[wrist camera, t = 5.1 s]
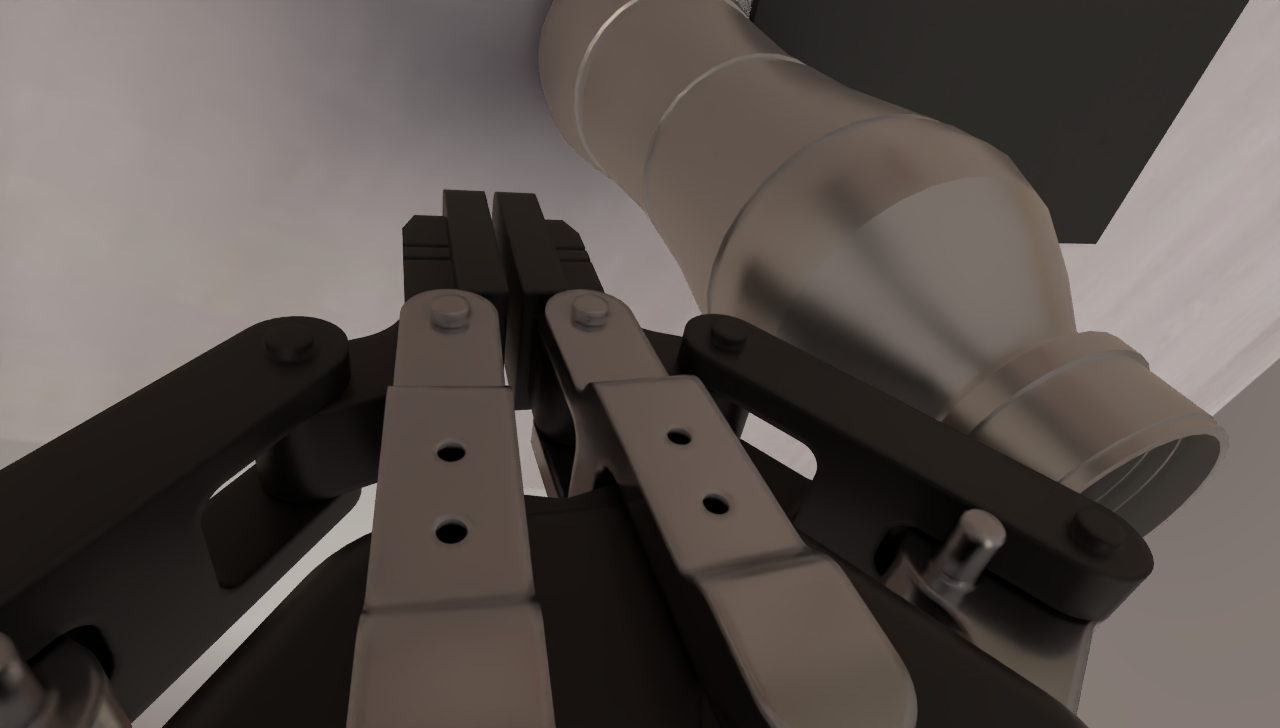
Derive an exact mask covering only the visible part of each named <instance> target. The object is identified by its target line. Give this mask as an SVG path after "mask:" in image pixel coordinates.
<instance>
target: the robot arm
mask: <svg viewBox="0 0 1280 728" xmlns="http://www.w3.org/2000/svg"><path fill="white" fill-rule="evenodd" d="M402 235H403V266H404V297H405V303H404V305H403V306H402V308H401V311H400V319H399V320H398V321H397V322H396V323H395V324H393V325H392V326H390V327H389V328H387V329H385V330H383V331H381V332H379V333H376V334H373V335H370V336H366V337H362V338H357V339H353V340H348V338H347V336H346V334H345V333H344V332H343V331H342V330H341V329H340V328H339V327H338V326H336V325H334V324H332V323H330V322H328V321H325V320H322V319H318V318H313V317H304V316H290V317H280V318H274V319H270V320H266V321H263V322H260V323H257V324H255V325H253V326H251V327H249V328H247V329H245V330H243V331H242V332H240V333H238V334H236V335H235V336H233V337H231V338H229V339H228V340H226V341H224V342H223V343H221V344H219V345H217V346H216V347H214V348H212V349H210V350H209V351H207V352H205V353H203V354H202V355H200V356H198V357H196V358H195V359H193V360H191V361H189V362H188V363H186V364H184V365H182V366H181V367H179V368H177V369H176V370H174V371H172V372H170V373H169V374H167V375H165V376H163V377H162V378H160V379H158V380H156V381H155V382H153V383H151V384H149V385H148V386H146V387H144V388H142V389H141V390H139V391H137V392H135V393H134V394H132V395H130V396H129V397H127V398H125V399H123V400H122V401H120V402H118V403H116V404H115V405H113V406H111V407H109V408H108V409H106V410H104V411H102V412H101V413H99V414H97V415H95V416H94V417H92V418H90V419H88V420H87V421H85V422H83V423H82V424H80V425H78V426H76V427H75V428H73V429H71V430H69V431H68V432H66V433H64V434H62V435H61V436H59V437H57V438H55V439H54V440H52V441H50V442H48V443H47V444H45V445H43V446H41V447H40V448H38V449H36V450H35V451H33V452H32V453H29V454H28V455H26V456H24V457H23V458H21V459H19V460H17V461H15V462H14V463H12V464H10V465H8V466H7V467H5V468H3V469H1V470H0V728H132V725H131V723H132V722H133V721H134V720H135V719H136V718H137V717H139V715H141V714H142V713H143V712H144V711H145V710H146V709H147V708H148V707H149V706H150V705H151V704H152V703H153V702H154V701H155V700H156V699H157V698H158V697H159V696H160V695H161V694H162V693H163V692H164V691H165V690H166V689H167V688H168V687H169V686H170V685H171V684H173V683H174V681H176V680H177V679H178V678H179V677H180V676H181V675H182V674H183V673H184V672H185V671H186V670H187V669H188V668H189V667H190V666H191V665H192V664H193V663H194V662H195V661H196V660H197V659H198V658H199V657H200V656H201V655H202V654H203V653H204V652H205V651H206V650H207V649H209V648H210V646H212V645H213V644H214V643H215V642H216V641H217V640H218V639H219V638H220V637H221V636H222V635H223V634H224V633H225V632H226V631H227V630H228V629H229V628H230V627H231V626H232V625H233V624H234V623H235V622H236V621H237V620H238V619H239V618H240V617H241V616H242V615H243V614H245V613H246V612H247V611H248V610H249V609H250V608H251V607H252V606H253V605H254V604H255V603H256V602H257V601H258V600H259V599H260V598H261V597H262V596H263V595H264V594H265V593H266V592H267V591H268V590H269V589H270V588H271V587H272V586H273V585H274V584H275V583H276V582H277V581H279V580H280V578H282V577H283V576H284V575H285V574H286V573H287V572H288V571H289V570H290V569H291V568H292V567H293V566H294V565H295V564H296V563H297V562H298V561H299V560H300V559H301V558H302V557H303V556H304V555H305V554H306V553H307V552H308V551H309V550H310V549H311V548H312V547H313V546H315V545H316V544H317V543H318V542H319V541H320V540H321V539H322V538H323V537H324V536H325V535H326V534H327V533H328V532H329V531H330V530H331V529H332V528H333V527H334V526H335V525H336V524H337V523H338V522H339V521H340V520H341V519H342V518H343V517H344V516H345V515H346V514H347V513H348V512H350V511H351V510H352V508H353V507H354V506H355V505H356V503H357V501H358V500H359V497H360V495H361V489H362V487H365V486H368V485H371V484H374V483H377V491H376V500H375V510H374V519H373V529H372V532H371V533H369V534H366V535H364V536H362V537H361V538H359V539H357V540H355V541H353V542H352V543H349V544H347V545H346V546H345V547H343V548H341V549H340V550H339V551H337V552H335V553H334V554H332V555H331V556H330V557H328V558H327V559H326V560H324V561H323V562H322V563H321V564H320V565H318V566H317V567H316V568H315V569H314V570H313V571H311V572H310V573H309V574H308V575H307V576H306V577H305V578H304V579H303V580H302V582H300V583H299V585H298V586H296V588H295V589H294V590H293V591H292V592H291V593H290V594H289V595H288V596H287V597H286V598H285V599H284V600H283V601H282V602H281V603H280V604H279V605H278V607H277V608H275V610H274V611H273V612H272V613H271V614H270V615H269V616H268V617H267V618H266V619H265V620H264V621H263V622H262V623H261V624H260V625H259V626H258V628H256V630H254V632H253V633H252V634H251V635H250V636H249V637H248V638H247V639H246V640H245V641H244V642H243V643H242V644H241V645H240V646H239V647H238V648H237V649H236V650H235V651H234V652H233V654H232V655H231V656H230V657H229V658H228V659H227V660H226V661H225V662H224V663H223V664H222V665H221V666H220V667H219V668H218V669H217V670H216V671H215V672H214V674H212V675H211V677H210V678H209V679H208V680H207V681H206V682H205V683H204V684H203V685H202V686H201V687H200V688H199V689H198V690H197V691H196V692H195V693H194V694H193V695H192V696H191V697H190V699H189V700H188V701H187V702H186V703H185V704H184V705H183V706H182V707H181V708H180V709H179V710H178V711H177V712H176V713H175V714H174V715H173V717H171V719H169V720H168V722H167V723H166V724H165V725H164V726H163V727H162V728H1088V727H1087V726H1086V725H1085V724H1084V723H1083V722H1082V721H1081V720H1080V719H1079V718H1078V717H1077V716H1076V715H1077V710H1078V705H1079V700H1080V695H1081V690H1082V684H1083V680H1084V674H1085V669H1086V665H1087V660H1088V654H1089V649H1090V644H1091V639H1092V634H1093V633H1094V632H1095V631H1096V629H1098V628H1099V626H1100V625H1101V624H1102V623H1103V622H1104V621H1105V620H1106V619H1107V618H1108V617H1109V616H1110V615H1111V614H1112V613H1113V612H1114V611H1115V610H1116V609H1117V608H1118V607H1119V606H1120V605H1121V604H1122V603H1123V602H1124V601H1125V600H1126V598H1127V597H1128V596H1129V595H1130V594H1131V593H1132V592H1133V591H1134V590H1135V589H1136V588H1137V587H1138V586H1139V585H1140V584H1141V583H1142V582H1143V581H1144V580H1145V579H1146V578H1147V576H1149V575H1150V573H1151V572H1152V570H1153V566H1154V561H1153V556H1152V553H1151V551H1150V549H1149V547H1148V545H1147V543H1146V542H1145V541H1144V539H1143V538H1142V537H1141V535H1140V534H1139V533H1138V532H1137V531H1136V530H1135V529H1134V528H1133V527H1132V526H1131V525H1130V524H1129V523H1128V522H1126V521H1125V520H1124V519H1123V518H1121V517H1120V516H1119V515H1117V514H1116V513H1114V512H1113V511H1111V510H1110V509H1108V508H1106V507H1104V506H1103V505H1101V504H1099V503H1097V502H1095V501H1093V500H1091V499H1089V498H1087V497H1085V496H1083V495H1081V494H1080V493H1078V492H1076V491H1074V490H1072V489H1070V488H1068V487H1066V486H1064V485H1062V484H1060V483H1058V482H1056V481H1054V480H1052V479H1051V478H1049V477H1047V476H1045V475H1043V474H1041V473H1039V472H1037V471H1035V470H1033V469H1031V468H1029V467H1027V466H1025V465H1023V464H1021V463H1020V462H1018V461H1016V460H1014V459H1012V458H1010V457H1008V456H1006V455H1004V454H1002V453H1000V452H998V451H996V450H994V449H992V448H990V447H989V446H987V445H985V444H983V443H981V442H979V441H977V440H975V439H973V438H971V437H969V436H967V435H965V434H963V433H961V432H960V431H958V430H956V429H954V428H952V427H950V426H948V425H946V424H944V423H942V422H940V421H938V420H936V419H934V418H932V417H930V416H929V415H927V414H925V413H923V412H921V411H919V410H917V409H915V408H913V407H911V406H909V405H907V404H905V403H903V402H901V401H899V400H898V399H896V398H894V397H892V396H890V395H888V394H886V393H884V392H882V391H880V390H878V389H876V388H874V387H872V386H870V385H868V384H867V383H865V382H863V381H861V380H859V379H857V378H855V377H853V376H851V375H849V374H847V373H845V372H843V371H841V370H839V369H838V368H836V367H834V366H832V365H830V364H828V363H826V362H824V361H822V360H820V359H818V358H816V357H814V356H812V355H810V354H808V353H807V352H805V351H803V350H801V349H799V348H797V347H795V346H793V345H791V344H789V343H787V342H785V341H783V340H781V339H779V338H777V337H776V336H774V335H772V334H770V333H768V332H766V331H764V330H762V329H760V328H758V327H756V326H754V325H752V324H750V323H748V322H746V321H744V320H742V319H739V318H736V317H732V316H729V315H723V314H704V315H700V316H696V317H694V318H692V319H691V320H690V321H688V323H687V324H686V326H685V329H684V333H683V337H681V336H675V335H670V334H664V333H659V332H654V331H650V330H646V329H643V328H641V327H640V325H639V323H638V322H637V320H636V318H635V316H634V315H633V313H632V311H631V310H630V308H629V307H628V306H627V305H626V304H625V303H624V302H622V301H621V300H619V299H617V298H615V297H614V296H611V295H609V294H606V293H605V292H604V290H603V287H602V285H601V283H600V281H599V278H598V276H597V274H596V271H595V269H594V267H593V265H592V263H590V258H589V255H588V253H587V251H585V246H584V244H583V242H582V240H581V237H580V235H579V233H578V232H576V231H575V230H574V229H573V228H572V227H570V226H569V225H568V224H567V223H565V222H564V221H563V220H545V219H544V216H543V213H542V211H541V208H540V205H539V203H538V200H537V197H536V195H535V194H533V193H512V192H495V194H494V198H493V211H492V220H491V215H490V211H489V207H488V203H487V199H486V195H485V192H484V191H467V190H445V189H444V190H443V216H425V215H414V216H413V217H412V218H411V219H410V220H409V221H408V223H407V224H406V225H405V226H404V227H403V228H402ZM504 364H505V369H506V374H507V379H508V384H509V386H505V378H504ZM529 409H532V413H533V417H534V418H533V427H532V437H531V444H532V448H533V451H534V454H535V458H536V461H537V464H538V467H539V470H540V473H541V477H542V480H543V483H544V486H545V489H546V493H547V496H548V497H541V496H531V495H524V492H523V483H522V474H521V465H520V456H519V447H518V438H517V428H516V419H515V410H529ZM749 412H750V413H752V414H754V415H755V416H757V417H759V418H761V419H762V420H764V421H766V422H767V423H769V424H771V425H773V426H774V427H776V428H778V429H780V430H781V431H783V432H785V433H787V434H788V435H790V436H792V437H793V438H795V439H797V440H799V441H800V442H802V443H803V444H805V445H806V446H807V447H808V448H809V449H810V450H811V451H812V453H813V454H814V456H815V458H816V461H817V471H816V474H815V476H814V478H813V480H810V479H807V478H805V477H804V476H802V475H800V474H799V473H797V472H795V471H794V470H792V469H790V468H789V467H787V466H785V465H784V464H782V463H780V462H779V461H777V460H775V459H774V458H772V457H770V456H769V455H767V454H765V453H764V452H762V451H760V450H759V449H757V448H755V447H754V446H752V445H750V444H749V443H747V442H745V441H744V440H742V439H740V437H741V434H742V431H743V428H744V425H745V423H746V420H747V417H748V414H749ZM254 460H255V461H256V464H255V465H253V466H252V467H251V468H249V469H248V470H247V471H246V472H244V473H243V474H242V475H240V476H239V477H238V478H237V479H235V480H234V481H233V482H231V483H230V484H229V485H228V486H226V487H225V488H224V489H222V490H221V491H220V492H219V493H217V494H216V495H215V496H213V497H212V498H211V499H210V497H211V496H212V495H213V493H214V492H215V491H216V490H217V489H218V488H219V487H220V486H221V485H222V484H224V483H225V482H226V481H228V480H229V479H230V478H232V477H233V476H234V475H236V474H237V473H238V472H239V471H241V470H242V469H243V468H245V467H246V466H247V465H249V464H250V463H251V462H253V461H254Z"/></svg>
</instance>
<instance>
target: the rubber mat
mask: <svg viewBox="0 0 1280 728" xmlns="http://www.w3.org/2000/svg"><path fill="white" fill-rule="evenodd" d="M1248 1H1249V0H754V2H753V6H752V10H751V14H750V19H749V20H750V21H751V22H752V23H753V24H754V25H755V26H756V27H758V28H759V29H760V30H761V31H762V32H763V33H764V34H765V35H767V36H768V37H769V38H770V39H771V40H772V41H773V42H774V43H776V44H777V45H778V46H779V47H780V48H781V49H782V50H783V51H785V52H786V53H787V54H788V55H790V56H792V57H793V58H795V59H797V60H799V61H800V62H802V63H804V64H805V65H807V66H810V67H812V68H814V69H815V70H817V71H819V72H821V73H823V74H825V75H826V76H828V77H830V78H832V79H834V80H836V81H837V82H839V83H841V84H843V85H845V86H846V87H848V88H851V89H854V90H856V91H859V92H862V93H864V94H867V95H870V96H872V97H875V98H878V99H881V100H883V101H886V102H889V103H891V104H894V105H897V106H900V107H902V108H905V109H908V110H910V111H913V112H916V113H919V114H921V115H924V116H927V117H929V118H932V119H935V120H937V121H939V122H941V123H945V124H949V125H952V126H954V127H956V128H958V129H960V130H962V131H964V132H966V133H968V134H970V135H972V136H974V137H976V138H978V139H980V140H983V141H985V142H987V143H989V144H991V145H992V146H994V147H995V148H997V149H998V150H1000V151H1001V152H1003V153H1004V154H1006V155H1007V156H1009V157H1010V159H1011V160H1012V161H1013V163H1014V164H1015V165H1016V167H1017V168H1018V169H1019V171H1020V172H1021V173H1022V175H1023V176H1024V177H1025V178H1026V180H1027V181H1028V182H1029V184H1030V185H1031V186H1032V188H1033V189H1034V190H1035V192H1036V193H1037V194H1038V196H1039V197H1040V198H1041V200H1042V201H1043V202H1044V204H1045V205H1046V206H1047V208H1048V209H1049V213H1050V216H1051V219H1052V223H1053V226H1054V229H1055V233H1056V236H1057V239H1058V243H1076V244H1096V243H1097V242H1098V240H1099V238H1100V237H1101V235H1102V234H1103V232H1104V230H1105V229H1106V227H1107V226H1108V224H1109V222H1110V221H1111V219H1112V218H1113V216H1114V214H1115V213H1116V211H1117V210H1118V208H1119V207H1120V205H1121V203H1122V202H1123V200H1124V199H1125V197H1126V195H1127V194H1128V192H1129V191H1130V189H1131V187H1132V186H1133V184H1134V183H1135V181H1136V180H1137V178H1138V176H1139V175H1140V173H1141V172H1142V170H1143V168H1144V167H1145V165H1146V164H1147V162H1148V160H1149V159H1150V157H1151V156H1152V154H1153V153H1154V151H1155V149H1156V148H1157V146H1158V145H1159V143H1160V141H1161V140H1162V138H1163V137H1164V135H1165V133H1166V132H1167V130H1168V129H1169V127H1170V125H1171V124H1172V122H1173V121H1174V119H1175V118H1176V116H1177V114H1178V113H1179V111H1180V110H1181V108H1182V106H1183V105H1184V103H1185V102H1186V100H1187V98H1188V97H1189V95H1190V94H1191V92H1192V91H1193V89H1194V87H1195V86H1196V84H1197V83H1198V81H1199V79H1200V78H1201V76H1202V75H1203V73H1204V71H1205V70H1206V68H1207V67H1208V65H1209V63H1210V62H1211V60H1212V59H1213V57H1214V56H1215V54H1216V52H1217V51H1218V49H1219V48H1220V46H1221V44H1222V43H1223V41H1224V40H1225V38H1226V36H1227V35H1228V33H1229V32H1230V30H1231V29H1232V27H1233V25H1234V24H1235V22H1236V21H1237V19H1238V17H1239V16H1240V14H1241V13H1242V11H1243V9H1244V8H1245V6H1246V5H1247V3H1248Z"/></svg>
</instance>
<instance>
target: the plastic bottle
mask: <svg viewBox="0 0 1280 728" xmlns="http://www.w3.org/2000/svg"><path fill="white" fill-rule="evenodd" d="M539 71H540V76H541V82H542V87H543V91H544V94H545V98H546V102H547V105H548V108H549V110H550V113H551V115H552V118H553V120H554V123H555V125H556V126H557V128H558V130H559V131H560V133H561V134H562V136H563V137H564V139H565V140H566V141H567V142H568V143H569V144H570V145H571V146H572V147H573V148H574V149H575V150H576V151H577V152H578V153H579V154H580V155H581V156H582V157H583V158H584V159H585V160H586V161H587V162H589V163H590V164H591V165H592V166H593V167H594V168H595V169H597V170H598V171H600V172H601V173H603V174H605V175H606V176H608V177H609V178H611V179H612V180H614V181H615V182H616V183H617V184H618V185H619V186H620V187H621V188H622V189H623V190H624V191H625V192H626V193H627V194H628V195H629V196H630V197H631V198H632V199H633V200H634V201H635V202H636V203H637V204H638V205H639V206H640V207H641V208H642V210H643V211H644V212H645V213H646V214H647V215H648V217H649V218H650V220H651V222H652V223H653V225H654V226H655V228H656V230H657V231H658V233H659V234H660V236H661V237H662V239H663V240H664V242H665V244H666V245H667V247H668V249H669V250H670V252H671V253H672V255H673V256H674V258H675V260H676V261H677V263H678V264H679V266H680V268H681V270H682V272H683V274H684V276H685V278H686V281H687V283H688V285H689V287H690V289H691V291H692V294H693V296H694V298H695V300H696V302H697V304H698V307H699V309H700V311H701V313H702V315H704V314H723V315H729V316H732V317H736V318H739V319H742V320H744V321H746V322H748V323H750V324H752V325H754V326H756V327H758V328H760V329H762V330H764V331H766V332H768V333H770V334H772V335H774V336H776V337H777V338H779V339H781V340H783V341H785V342H787V343H789V344H791V345H793V346H795V347H797V348H799V349H801V350H803V351H805V352H807V353H808V354H810V355H812V356H814V357H816V358H818V359H820V360H822V361H824V362H826V363H828V364H830V365H832V366H834V367H836V368H838V369H839V370H841V371H843V372H845V373H847V374H849V375H851V376H853V377H855V378H857V379H859V380H861V381H863V382H865V383H867V384H868V385H870V386H872V387H874V388H876V389H878V390H880V391H882V392H884V393H886V394H888V395H890V396H892V397H894V398H896V399H898V400H899V401H901V402H903V403H905V404H907V405H909V406H911V407H913V408H915V409H917V410H919V411H921V412H923V413H925V414H927V415H929V416H930V417H932V418H934V419H936V420H938V421H940V422H942V423H944V424H946V425H948V426H950V427H952V428H954V429H956V430H958V431H960V432H961V433H963V434H965V435H967V436H969V437H971V438H973V439H975V440H977V441H979V442H981V443H983V444H985V445H987V446H989V447H990V448H992V449H994V450H996V451H998V452H1000V453H1002V454H1004V455H1006V456H1008V457H1010V458H1012V459H1014V460H1016V461H1018V462H1020V463H1021V464H1023V465H1025V466H1027V467H1029V468H1031V469H1033V470H1035V471H1037V472H1039V473H1041V474H1043V475H1045V476H1047V477H1049V478H1051V479H1052V480H1054V481H1056V482H1058V483H1060V484H1062V485H1064V486H1066V487H1068V488H1070V489H1072V490H1074V491H1076V492H1078V493H1080V494H1081V495H1083V496H1085V497H1087V498H1089V499H1091V500H1093V501H1095V502H1097V503H1099V504H1101V505H1103V506H1104V507H1106V508H1108V509H1110V510H1111V511H1113V512H1114V513H1116V514H1117V515H1119V516H1120V517H1121V518H1123V519H1124V520H1125V521H1126V522H1128V523H1129V524H1130V525H1131V526H1132V527H1133V528H1134V529H1135V530H1136V531H1137V532H1138V533H1139V534H1140V535H1141V537H1142V538H1143V539H1145V538H1146V537H1147V536H1149V535H1150V534H1151V533H1153V532H1154V531H1155V530H1157V529H1158V528H1159V527H1160V526H1162V525H1163V524H1164V523H1165V522H1166V521H1168V520H1169V519H1170V518H1171V517H1172V516H1174V515H1175V514H1176V513H1177V512H1178V511H1179V510H1180V509H1181V508H1182V507H1183V506H1185V505H1186V504H1187V503H1188V502H1189V501H1190V500H1191V499H1192V498H1193V497H1194V496H1195V495H1196V494H1197V493H1198V492H1199V490H1201V488H1202V487H1203V486H1204V485H1205V484H1206V483H1207V481H1208V480H1209V479H1210V478H1211V477H1212V475H1213V474H1214V473H1215V472H1216V470H1217V468H1218V467H1219V465H1220V464H1221V462H1222V460H1223V459H1224V457H1225V454H1226V452H1227V449H1228V447H1229V435H1228V434H1227V433H1226V431H1225V430H1224V429H1223V428H1221V427H1220V426H1218V425H1217V423H1216V421H1215V420H1214V419H1213V417H1212V416H1211V415H1209V414H1208V413H1207V412H1205V411H1204V410H1202V409H1201V408H1200V407H1198V406H1197V405H1196V404H1194V403H1193V402H1191V401H1190V400H1189V399H1188V398H1186V397H1185V396H1183V395H1182V394H1181V393H1179V392H1178V391H1177V390H1175V389H1174V388H1173V387H1171V386H1170V385H1169V384H1167V383H1166V382H1165V381H1163V380H1162V379H1160V378H1159V377H1158V376H1156V375H1155V374H1154V373H1152V372H1151V371H1150V369H1149V363H1148V362H1147V361H1146V360H1145V358H1144V357H1143V356H1142V355H1141V354H1140V353H1138V352H1137V351H1136V350H1134V349H1133V348H1132V347H1130V346H1129V345H1127V344H1126V343H1125V342H1123V341H1122V340H1121V339H1119V338H1118V337H1116V336H1114V335H1111V334H1109V333H1107V332H1096V331H1088V332H1082V333H1078V332H1077V331H1076V324H1075V318H1074V311H1073V304H1072V298H1071V291H1070V284H1069V278H1068V273H1067V270H1066V266H1065V263H1064V259H1063V256H1062V253H1061V249H1060V246H1059V243H1058V239H1057V236H1056V233H1055V229H1054V226H1053V223H1052V219H1051V216H1050V213H1049V209H1048V208H1047V206H1046V205H1045V204H1044V202H1043V201H1042V200H1041V198H1040V197H1039V196H1038V194H1037V193H1036V192H1035V190H1034V189H1033V188H1032V186H1031V185H1030V184H1029V182H1028V181H1027V180H1026V178H1025V177H1024V176H1023V175H1022V173H1021V172H1020V171H1019V169H1018V168H1017V167H1016V165H1015V164H1014V163H1013V161H1012V160H1011V159H1010V157H1009V156H1007V155H1006V154H1004V153H1003V152H1001V151H1000V150H998V149H997V148H995V147H994V146H992V145H991V144H989V143H987V142H985V141H983V140H980V139H978V138H976V137H974V136H972V135H970V134H968V133H966V132H964V131H962V130H960V129H958V128H956V127H954V126H952V125H949V124H945V123H941V122H939V121H937V120H935V119H932V118H929V117H927V116H924V115H921V114H919V113H916V112H913V111H910V110H908V109H905V108H902V107H900V106H897V105H894V104H891V103H889V102H886V101H883V100H881V99H878V98H875V97H872V96H870V95H867V94H864V93H862V92H859V91H856V90H854V89H851V88H848V87H846V86H845V85H843V84H841V83H839V82H837V81H836V80H834V79H832V78H830V77H828V76H826V75H825V74H823V73H821V72H819V71H817V70H815V69H814V68H812V67H810V66H807V65H805V64H804V63H802V62H800V61H799V60H797V59H795V58H793V57H792V56H790V55H788V54H787V53H786V52H785V51H783V50H782V49H781V48H780V47H779V46H778V45H777V44H776V43H774V42H773V41H772V40H771V39H770V38H769V37H768V36H767V35H765V34H764V33H763V32H762V31H761V30H760V29H759V28H758V27H756V26H755V25H754V24H753V23H752V22H751V21H750V20H749V18H748V17H747V15H746V14H745V12H744V11H743V9H742V8H741V6H740V5H739V3H738V2H737V1H736V0H554V1H553V3H552V5H551V6H550V9H549V11H548V14H547V16H546V19H545V22H544V24H543V27H542V33H541V38H540V43H539Z"/></svg>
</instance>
